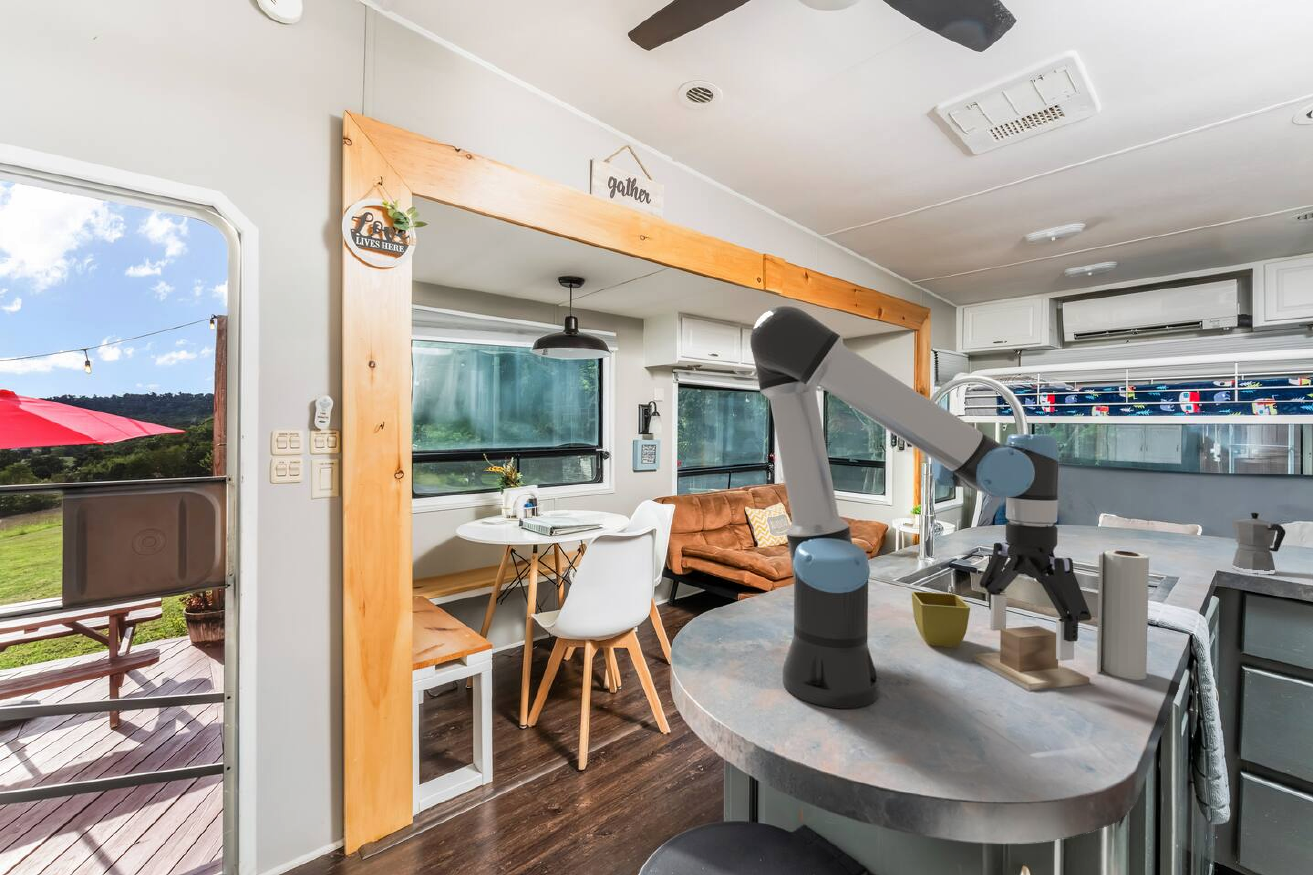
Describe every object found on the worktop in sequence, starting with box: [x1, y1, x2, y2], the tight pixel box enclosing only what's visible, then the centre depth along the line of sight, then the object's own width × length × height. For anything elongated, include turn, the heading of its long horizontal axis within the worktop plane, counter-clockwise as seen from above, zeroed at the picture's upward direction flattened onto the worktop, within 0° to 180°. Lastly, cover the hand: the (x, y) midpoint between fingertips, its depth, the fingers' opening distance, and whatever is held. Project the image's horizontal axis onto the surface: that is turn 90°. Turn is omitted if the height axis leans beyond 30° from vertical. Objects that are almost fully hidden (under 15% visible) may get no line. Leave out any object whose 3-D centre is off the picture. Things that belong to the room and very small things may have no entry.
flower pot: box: [911, 591, 971, 649], centre depth 111 cm, size 9×9×9 cm
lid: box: [972, 625, 1091, 690], centre depth 98 cm, size 12×12×7 cm
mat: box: [968, 658, 1096, 693], centre depth 98 cm, size 13×13×1 cm
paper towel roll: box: [1096, 550, 1150, 681], centre depth 98 cm, size 7×6×21 cm
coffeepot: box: [1231, 512, 1286, 571], centre depth 170 cm, size 15×9×18 cm, turn 175°
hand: (1029, 643), depth 98 cm, fingers open, 13 cm apart
